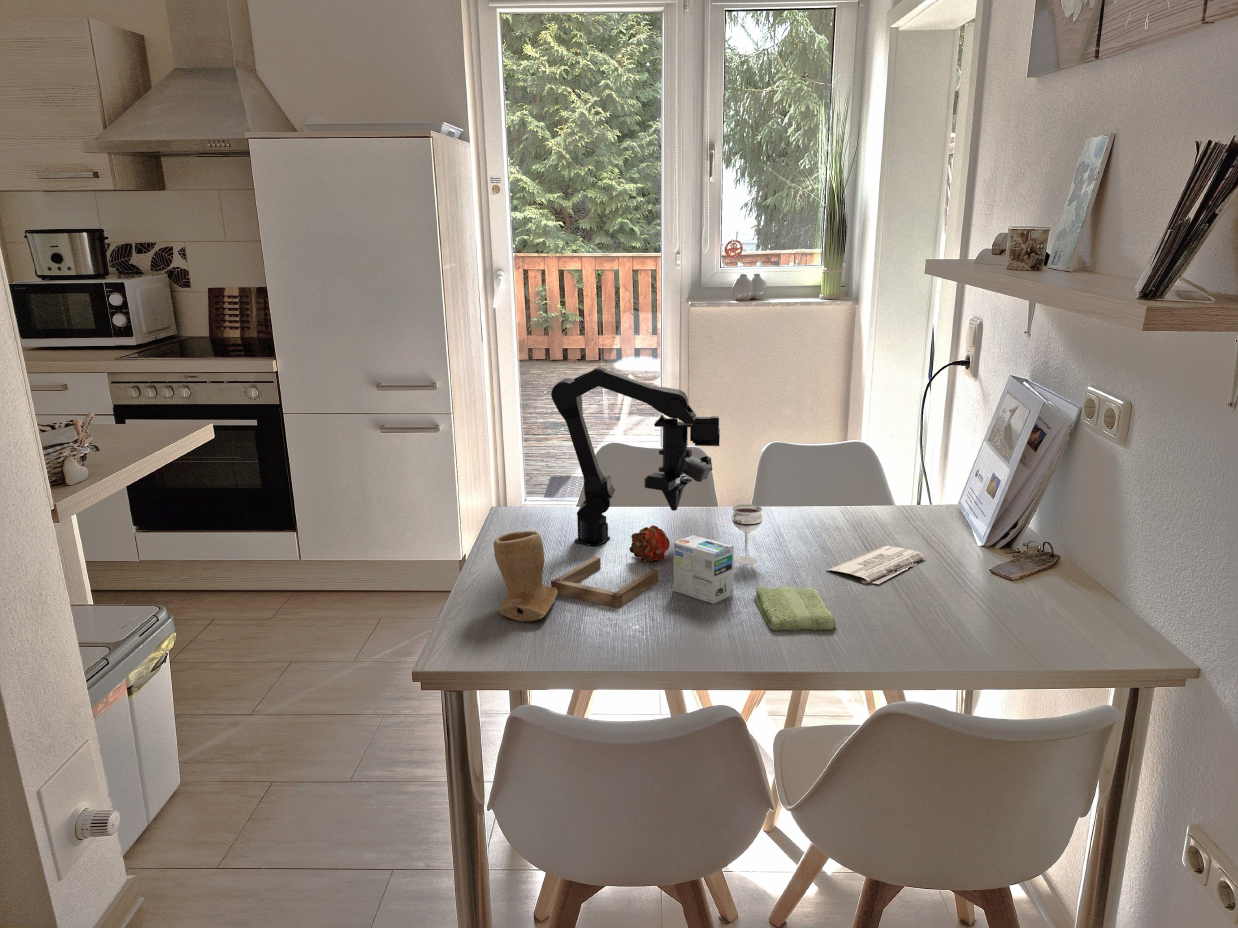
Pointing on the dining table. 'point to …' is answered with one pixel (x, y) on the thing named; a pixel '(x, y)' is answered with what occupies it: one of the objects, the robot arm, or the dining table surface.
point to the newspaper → (879, 563)
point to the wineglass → (746, 525)
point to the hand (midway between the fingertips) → (674, 510)
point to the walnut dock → (570, 588)
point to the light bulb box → (703, 568)
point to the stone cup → (523, 576)
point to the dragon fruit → (649, 544)
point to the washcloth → (793, 608)
